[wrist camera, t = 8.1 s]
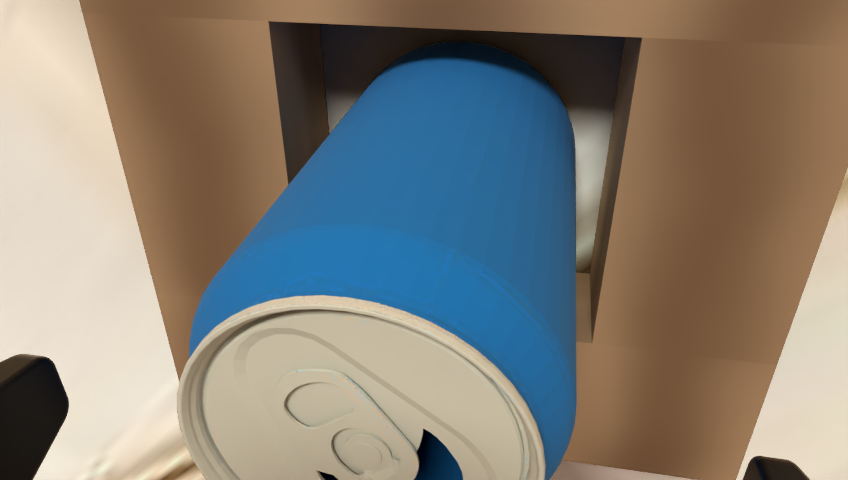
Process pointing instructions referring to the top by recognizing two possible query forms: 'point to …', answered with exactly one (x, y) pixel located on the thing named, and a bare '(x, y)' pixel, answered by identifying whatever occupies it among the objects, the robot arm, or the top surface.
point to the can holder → (620, 201)
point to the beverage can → (403, 292)
